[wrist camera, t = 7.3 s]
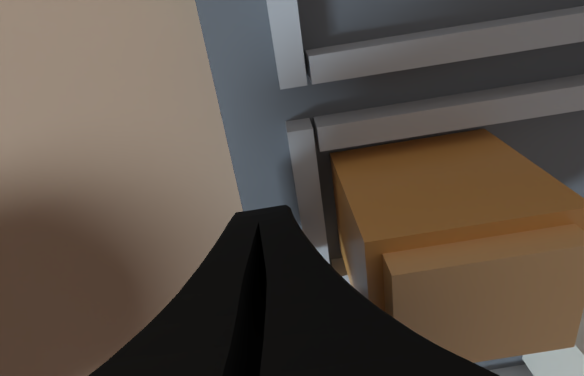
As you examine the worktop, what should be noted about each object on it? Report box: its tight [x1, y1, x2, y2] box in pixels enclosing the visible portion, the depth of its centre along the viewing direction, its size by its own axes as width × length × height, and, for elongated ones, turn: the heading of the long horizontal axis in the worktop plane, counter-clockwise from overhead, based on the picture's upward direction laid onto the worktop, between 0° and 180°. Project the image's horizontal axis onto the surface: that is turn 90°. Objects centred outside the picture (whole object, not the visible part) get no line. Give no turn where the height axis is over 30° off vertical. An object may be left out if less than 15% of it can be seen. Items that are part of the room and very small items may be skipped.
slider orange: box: [330, 129, 584, 363], centre depth 9 cm, size 3×4×5 cm
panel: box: [195, 0, 584, 376], centre depth 12 cm, size 18×19×2 cm
